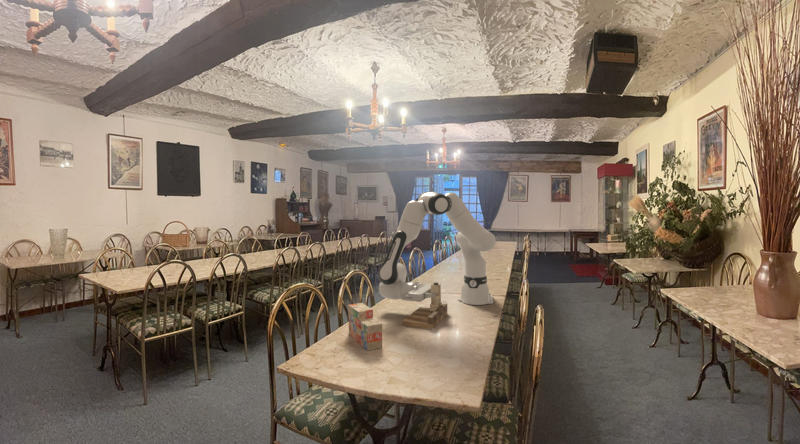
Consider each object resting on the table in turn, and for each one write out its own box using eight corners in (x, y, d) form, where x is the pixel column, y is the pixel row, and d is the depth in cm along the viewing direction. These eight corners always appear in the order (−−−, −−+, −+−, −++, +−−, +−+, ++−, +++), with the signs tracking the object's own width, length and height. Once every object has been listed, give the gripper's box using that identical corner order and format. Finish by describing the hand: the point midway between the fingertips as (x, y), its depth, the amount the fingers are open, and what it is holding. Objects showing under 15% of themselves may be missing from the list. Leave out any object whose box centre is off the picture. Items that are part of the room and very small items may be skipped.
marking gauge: (434, 307, 180) (434, 281, 180) (442, 307, 179) (442, 281, 178) (430, 310, 174) (429, 283, 173) (438, 311, 172) (437, 284, 172)
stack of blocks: (382, 348, 138) (382, 315, 137) (367, 351, 135) (366, 317, 135) (362, 330, 157) (362, 302, 157) (348, 333, 154) (347, 304, 154)
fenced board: (420, 311, 184) (419, 301, 184) (447, 314, 178) (447, 303, 178) (401, 325, 163) (401, 314, 163) (432, 329, 157) (432, 317, 157)
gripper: (402, 290, 171) (430, 292, 166) (417, 281, 190) (443, 283, 184) (402, 303, 171) (430, 306, 166) (417, 293, 190) (443, 295, 185)
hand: (437, 294), depth 175 cm, fingers closed on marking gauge, 4 cm apart
